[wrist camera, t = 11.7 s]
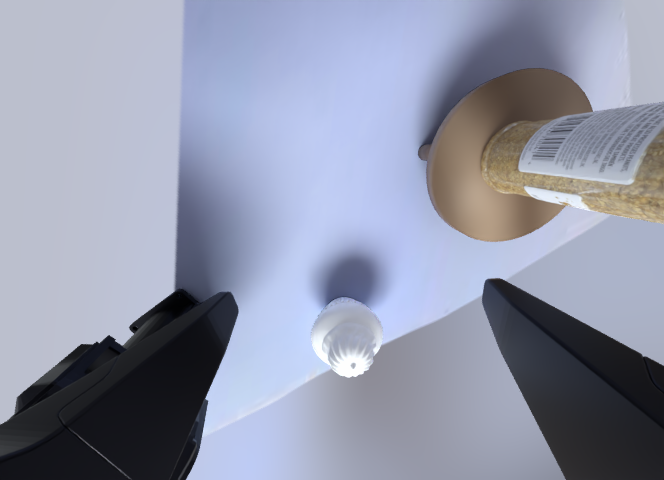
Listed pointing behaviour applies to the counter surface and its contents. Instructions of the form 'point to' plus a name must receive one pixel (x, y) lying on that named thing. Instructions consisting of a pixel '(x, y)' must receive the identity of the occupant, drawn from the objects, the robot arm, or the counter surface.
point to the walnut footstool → (471, 140)
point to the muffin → (347, 336)
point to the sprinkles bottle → (585, 161)
